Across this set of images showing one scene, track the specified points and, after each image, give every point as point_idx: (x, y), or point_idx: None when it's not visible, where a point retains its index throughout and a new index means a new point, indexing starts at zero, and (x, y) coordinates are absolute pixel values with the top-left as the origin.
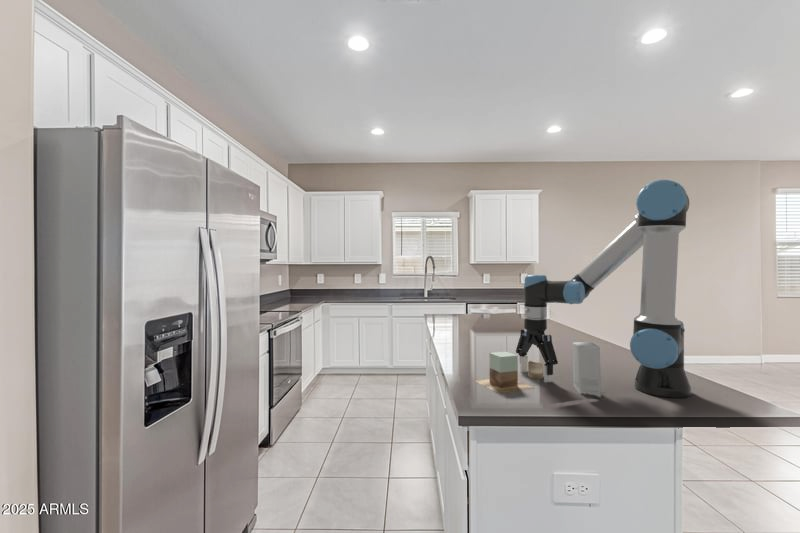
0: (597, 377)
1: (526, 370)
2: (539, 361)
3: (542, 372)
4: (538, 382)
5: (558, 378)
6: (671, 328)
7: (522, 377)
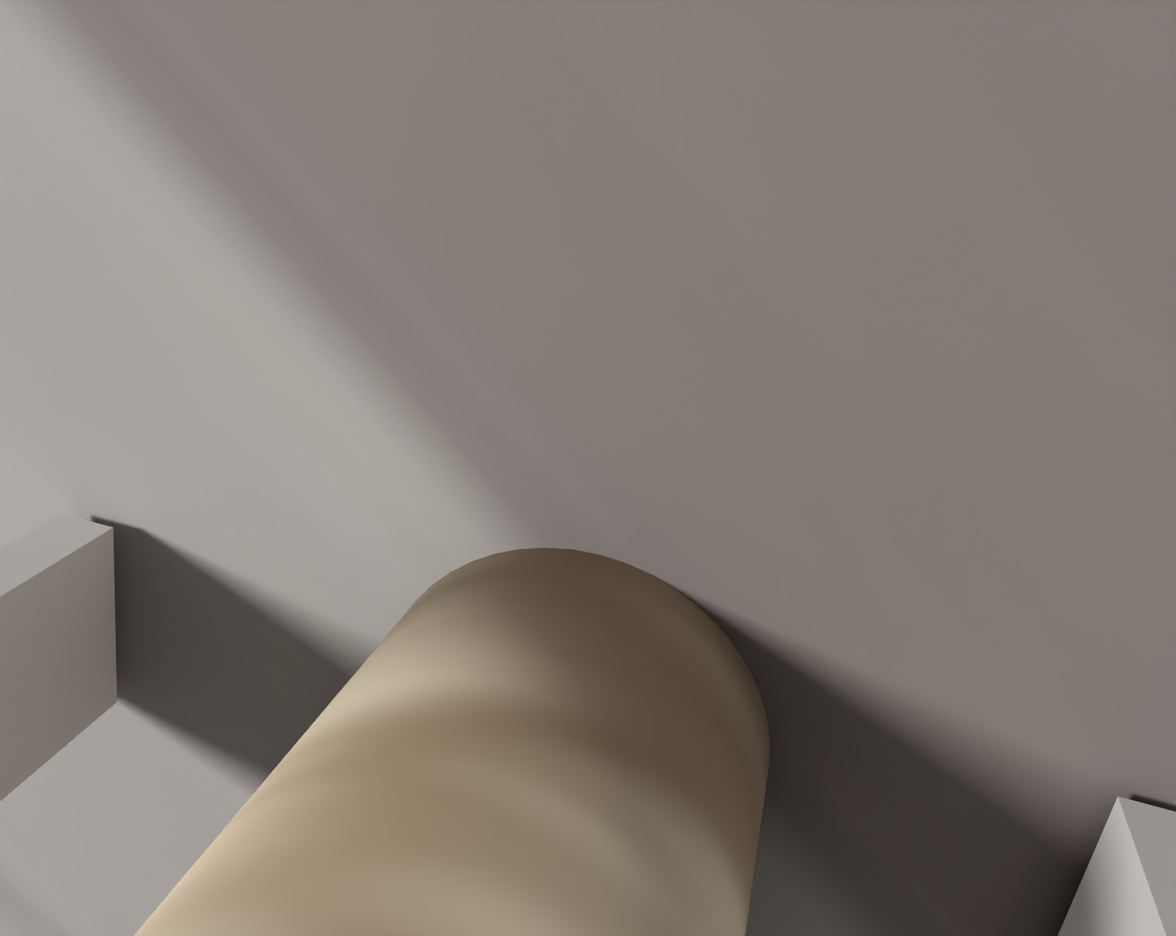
0: None
1: (43, 610)
2: (272, 926)
3: (737, 880)
4: (804, 896)
5: (880, 33)
6: None
7: None
